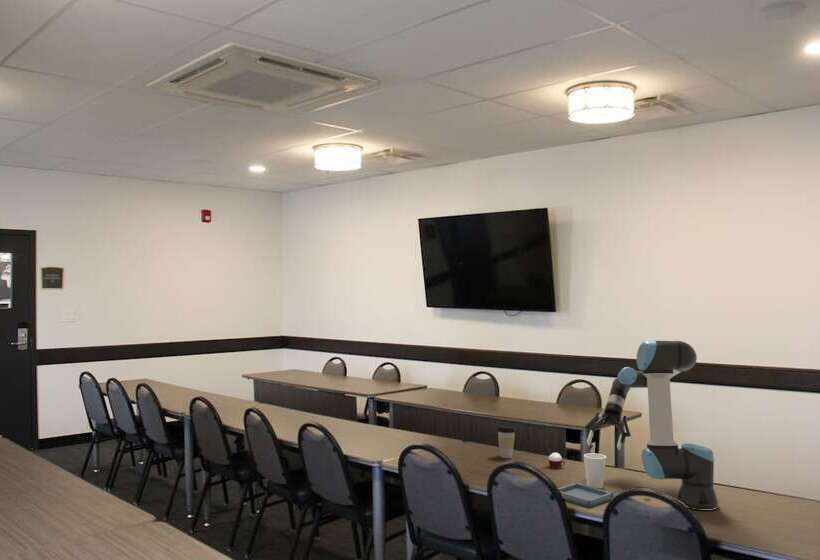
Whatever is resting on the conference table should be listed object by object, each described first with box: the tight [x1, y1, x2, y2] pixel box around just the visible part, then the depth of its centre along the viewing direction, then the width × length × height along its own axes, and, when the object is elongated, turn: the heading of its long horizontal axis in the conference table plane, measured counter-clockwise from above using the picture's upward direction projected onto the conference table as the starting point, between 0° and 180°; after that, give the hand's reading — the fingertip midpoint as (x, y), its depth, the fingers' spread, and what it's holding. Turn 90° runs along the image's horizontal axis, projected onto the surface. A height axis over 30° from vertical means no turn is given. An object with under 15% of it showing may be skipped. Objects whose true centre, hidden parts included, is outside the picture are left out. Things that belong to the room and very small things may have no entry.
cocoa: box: [544, 439, 566, 469], centre depth 324 cm, size 10×6×12 cm, turn 40°
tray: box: [557, 482, 614, 508], centre depth 278 cm, size 18×16×2 cm
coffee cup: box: [496, 424, 517, 459], centre depth 342 cm, size 9×9×15 cm
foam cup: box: [583, 452, 607, 489], centre depth 293 cm, size 10×9×13 cm
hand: (603, 446), depth 302 cm, fingers open, 13 cm apart
